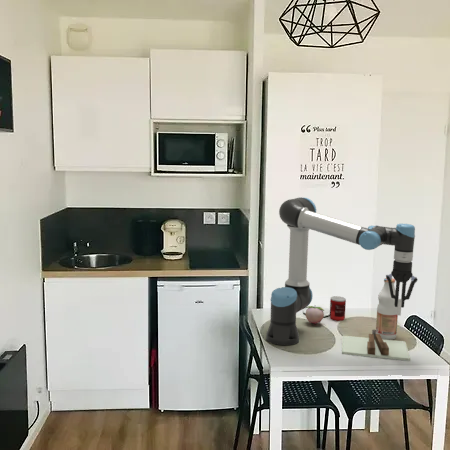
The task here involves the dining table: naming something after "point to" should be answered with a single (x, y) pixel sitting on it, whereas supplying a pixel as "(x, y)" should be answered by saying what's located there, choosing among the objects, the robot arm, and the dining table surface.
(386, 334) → the fruit juice
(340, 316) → the canned food
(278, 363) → the dining table surface
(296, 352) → the dining table surface
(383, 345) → the arm
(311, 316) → the decorative fruit
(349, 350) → the board
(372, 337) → the tongs fixed
